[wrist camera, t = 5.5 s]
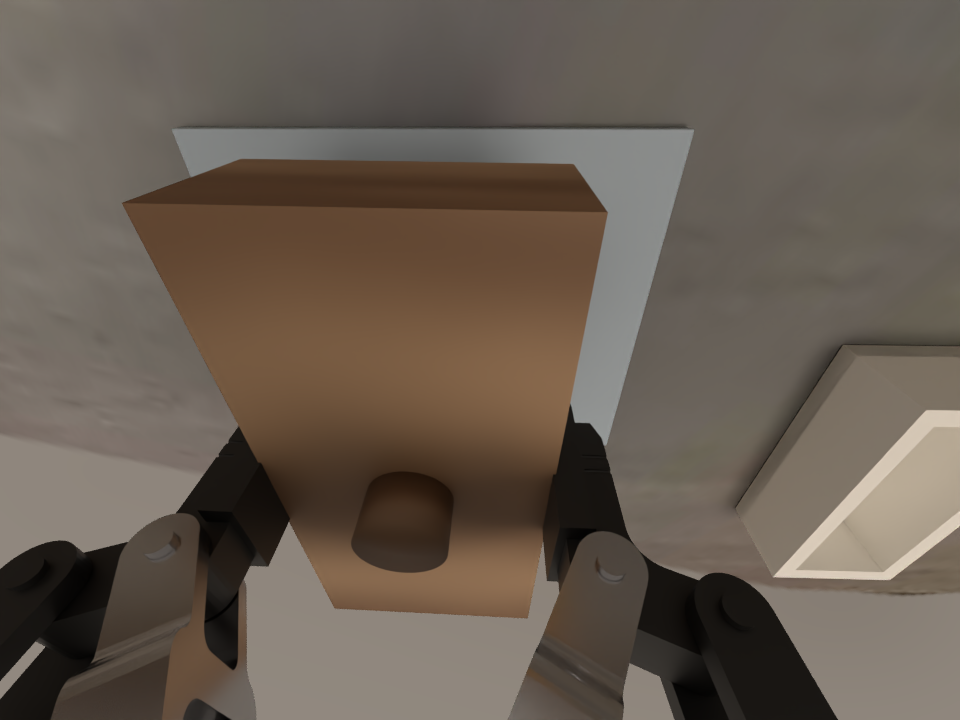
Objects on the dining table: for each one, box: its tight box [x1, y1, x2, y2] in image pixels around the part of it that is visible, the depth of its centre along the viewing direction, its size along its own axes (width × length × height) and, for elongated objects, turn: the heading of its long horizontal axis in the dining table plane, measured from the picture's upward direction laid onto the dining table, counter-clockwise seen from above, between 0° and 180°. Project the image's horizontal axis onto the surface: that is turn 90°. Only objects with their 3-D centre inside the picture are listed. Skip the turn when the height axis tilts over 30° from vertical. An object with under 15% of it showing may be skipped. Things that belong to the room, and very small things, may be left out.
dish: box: [735, 345, 960, 580], centre depth 19 cm, size 12×6×4 cm, turn 0°
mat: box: [172, 127, 694, 445], centre depth 16 cm, size 14×16×1 cm
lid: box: [122, 159, 608, 618], centre depth 10 cm, size 13×6×4 cm, turn 0°
